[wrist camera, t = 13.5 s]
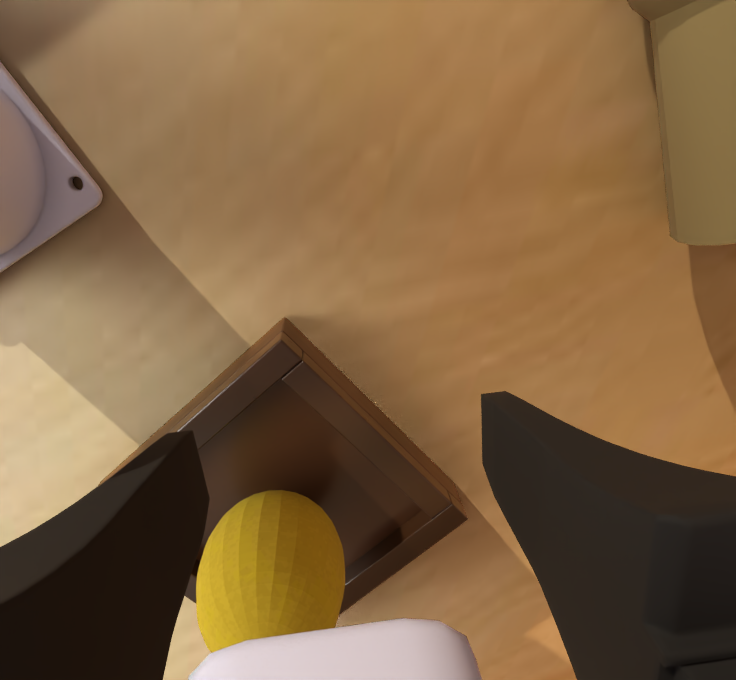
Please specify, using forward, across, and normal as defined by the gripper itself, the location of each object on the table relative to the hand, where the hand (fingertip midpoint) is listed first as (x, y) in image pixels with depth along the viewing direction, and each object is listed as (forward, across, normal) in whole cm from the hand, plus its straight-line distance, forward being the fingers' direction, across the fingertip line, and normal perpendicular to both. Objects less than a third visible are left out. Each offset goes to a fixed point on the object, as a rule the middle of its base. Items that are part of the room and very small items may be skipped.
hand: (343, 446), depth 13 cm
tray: (+10, +4, +8) cm, 14 cm away
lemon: (+9, +4, +8) cm, 12 cm away
